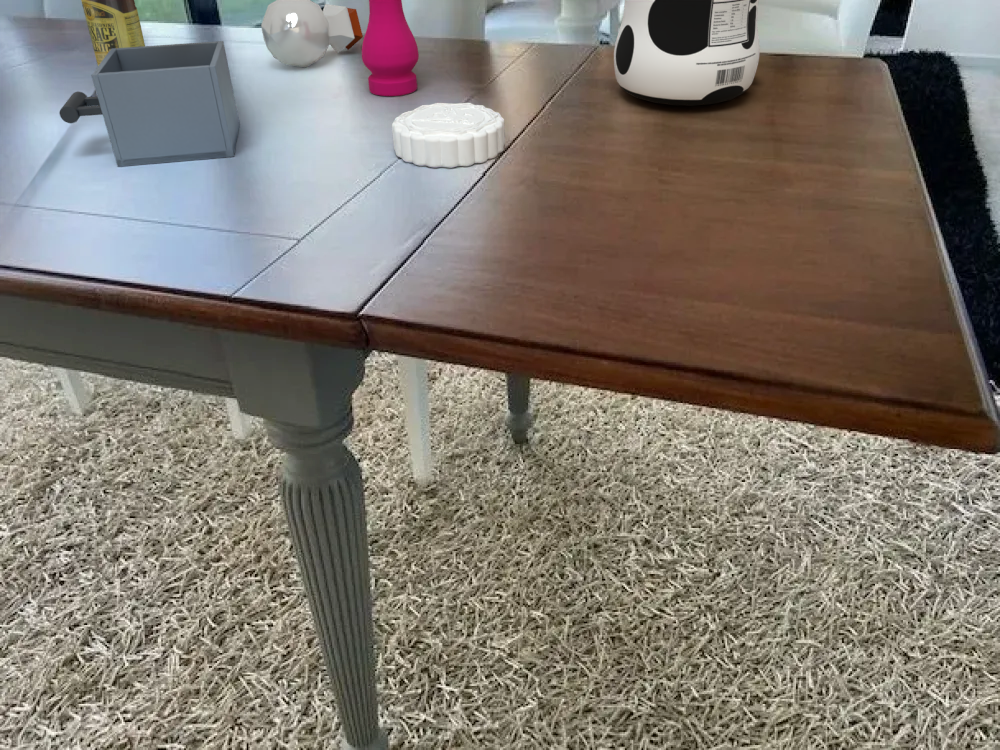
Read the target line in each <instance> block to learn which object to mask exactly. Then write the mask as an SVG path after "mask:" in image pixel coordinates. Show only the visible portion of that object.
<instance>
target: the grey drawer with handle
mask: <svg viewBox="0 0 1000 750" xmlns="http://www.w3.org/2000/svg"><path fill="white" fill-rule="evenodd" d="M91 79H92V82H93V86H94V89H95V93H96V95H95V96H88V95H87V94H86V93H85V92H81V91H75V92H73V93H72V94H70V97H69V98H68V99H67V100H66V102H65V103H64V104H63V106H62V107H61V108H60V110H59V117H60V118H61V120H62V121H63V122H65V123H66V124H75V123H77V122H78V120H79V119H80V117H86V116H87V117H88V116H101V115H102V117H103V121H104V124H105V127H106V131H107V134H108V138H109V142H110V145H111V149H112V152H113V155H114V159H115V163H116V166H117V167H118V168H120V167H130V166H142V165H152V164H162V163H163V164H164V163H175V162H186V161H198V160H209V159H211V160H212V159H220V158H221V159H222V158H223V159H224V158H234V157H235V152H236V146H237V142H238V136H239V131H240V126H241V123H240V119H239V118H240V117H239V112H238V109H237V102H236V98H235V92H234V88H233V83H232V78H231V73H230V68H229V64H228V58H227V53H226V47H225V42H224V40H218V41H201V42H191V43H190V42H189V43H174V44H173V43H171V44H159V45H158V44H157V45H145V46H142V47H127V48H112V49H111V50H110V51H109V52H108V54H107V55H106V56H105V58H104V59H103V60H102V62H101V63H100V64H99V66H98V65H97V67H96V68H95V70H93V72H92V74H91Z"/></svg>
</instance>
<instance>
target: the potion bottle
mask: <svg viewBox="0 0 1000 750" xmlns="http://www.w3.org/2000/svg"><path fill="white" fill-rule="evenodd" d="M260 27H261V32H262V38H263V42H264V44H265V46H266V49H267V51H269V53H270V54H271V56H272V57H273V58H274V59H276V60H277V61H279V62H280V63H282V64H283V65H285V66H291V67H298V68H299V67H300V68H308V67H310V66H311V65H313V64H314V63H316V62H317V61H319V60H321V59H322V58H324V56H325V54H326V52H327V50H328V48H329V46H331V48H333V50H334V51H335V52H336V53H337V54H340V53H341V52H342V51H343V50H344V49H346V50H347V51H349V50H350V49H352V48H353V47H354V46H355V45H356V44H357V43H358V42H360V40H361V39H363V38H364V36H363V31H362V27H361V24H360V19H359V15H358V11H357V8H350V7H347V6H342V5H336V4H335V5H334V4H328V3H324V6H323V9H322V8H321V6H320V5H319V4H318V3H317V2H315V1H312V0H275V1H273V2H271V3H269V4H268V5H267V8H266V10H265V13H264V16H263V19H262V21H261V24H260Z"/></svg>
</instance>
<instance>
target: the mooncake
mask: <svg viewBox="0 0 1000 750" xmlns="http://www.w3.org/2000/svg"><path fill="white" fill-rule="evenodd" d="M505 131H506V130H505V119H504V117H502V115H501V113H500V112H498V111H494V110H493V109H492V108H489V107H486V106H485V105H483V104H474V103H471V102H460V103H447V102H435V103H431V104H422V105H420V106H418V107H415V108H414V109H412V110H407V111H405V112H403V113H401V114H400V115H398V116H397V117H395V118H394V121H393V122H392V123H391V133H392V144H393V151H395V156H396V157H398V158H401V159H402V160H403V161H404V162H406V163H411V164H412V163H413V164H414V165H415V166H418V167H419V166H420V167H424V166H425V167H429V168H433V169H437V168H446V169H452V168H456V167H470V166H472V165H474V164H483V163H486V162H487V161H488V160H492V159H494V158H495V159H496V158H497V156H498V155H499V154H501V153H503V152H504V149H505V148H504V147H505V144H506V135H505V134H506V133H505Z"/></svg>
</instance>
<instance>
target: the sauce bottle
mask: <svg viewBox="0 0 1000 750" xmlns="http://www.w3.org/2000/svg"><path fill="white" fill-rule="evenodd" d="M80 2H81V5H82V9H83V14H84V17H85V21H86V25H87V29H88V34H89V37H90V41H91V44H92V45H91V46H92V49H93V52H94V56H95V61H96V64H97V67H98V66H99V64H100V63H101V62H102V60H103V59H104V58H105V56H106V55H107V54H108V52H109V51H110V50H111V49H112V48H127V47H142V46H146V44H145V38H144V33H143V30H142V26H141V21H140V16H139V12H138V7H137V6H136V1H135V0H80Z"/></svg>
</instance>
